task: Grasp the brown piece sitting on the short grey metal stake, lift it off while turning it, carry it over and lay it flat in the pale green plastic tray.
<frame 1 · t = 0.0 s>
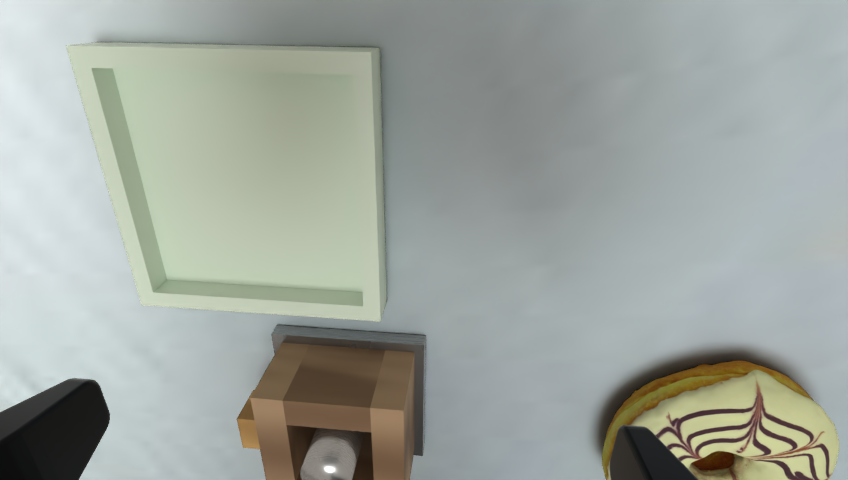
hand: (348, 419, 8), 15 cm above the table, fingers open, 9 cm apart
decorated donut: (697, 423, 27), on the table
tray: (256, 183, 23), on the table
stake: (354, 387, 28), on the table
brown piece: (351, 398, 27), point 1 cm above the table, touching stake
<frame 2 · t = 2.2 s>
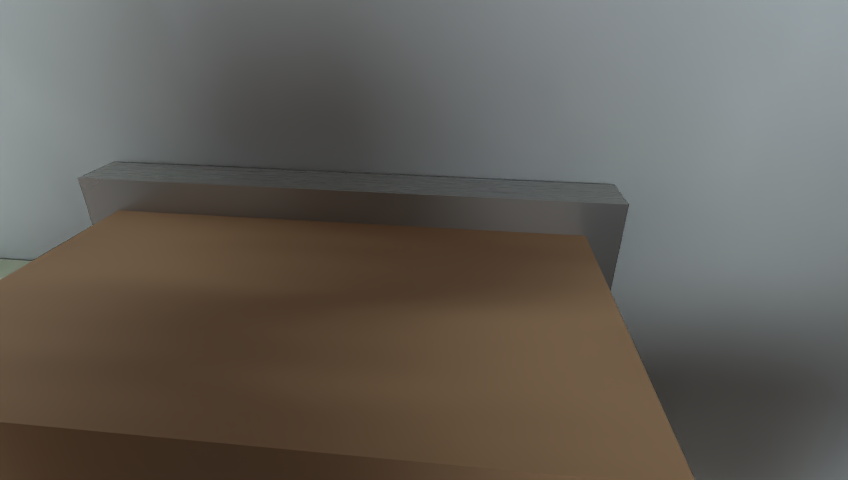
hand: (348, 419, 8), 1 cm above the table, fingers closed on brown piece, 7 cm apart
stake: (363, 370, 9), on the table
brown piece: (354, 401, 9), point 1 cm above the table, touching gripper, stake
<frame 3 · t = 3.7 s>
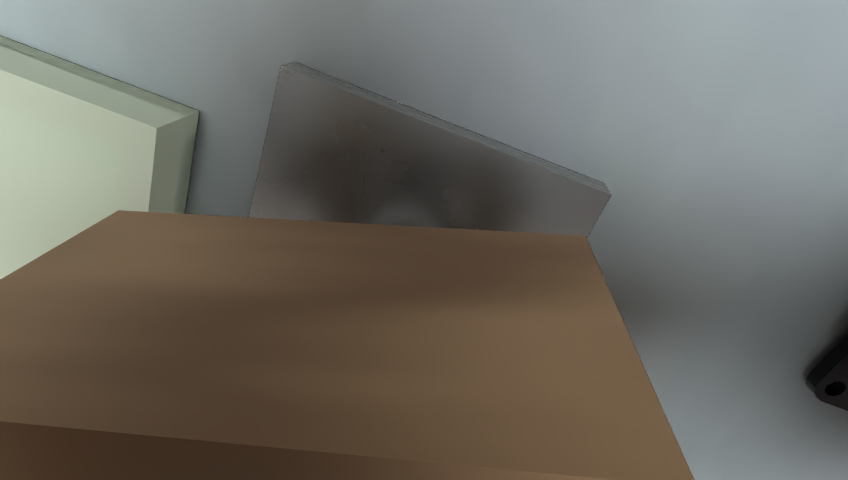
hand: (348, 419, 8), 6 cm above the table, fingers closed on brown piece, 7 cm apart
stake: (399, 259, 14), on the table
brown piece: (354, 400, 9), point 5 cm above the table, touching gripper
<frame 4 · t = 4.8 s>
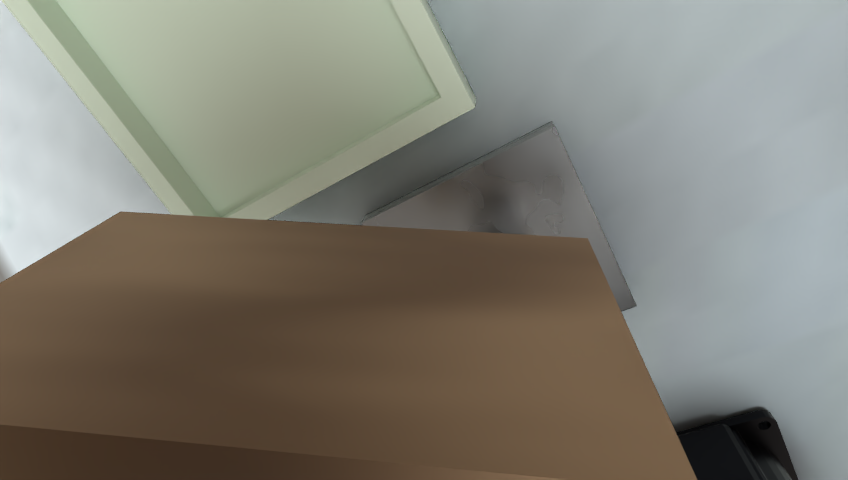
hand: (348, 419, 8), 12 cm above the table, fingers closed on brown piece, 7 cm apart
tray: (245, 27, 17), on the table
stake: (499, 255, 20), on the table
brown piece: (355, 402, 9), point 11 cm above the table, touching gripper
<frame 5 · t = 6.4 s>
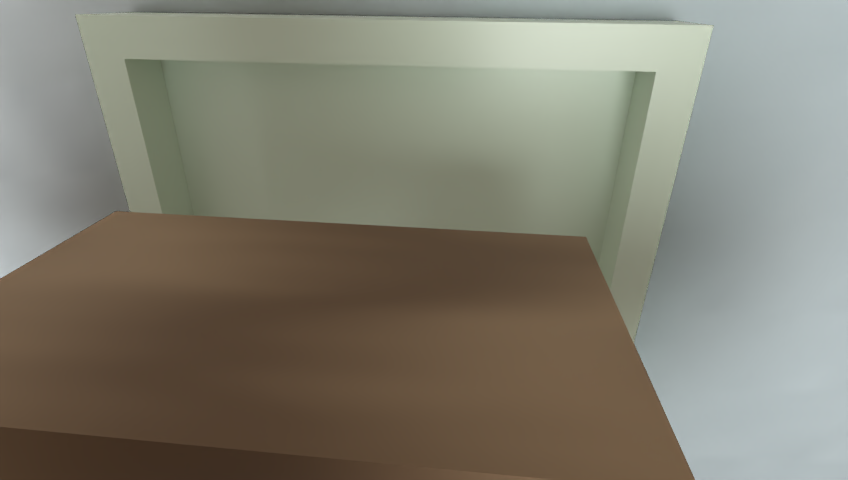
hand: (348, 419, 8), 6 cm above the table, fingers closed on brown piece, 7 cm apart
tray: (395, 257, 13), on the table
brown piece: (353, 402, 9), point 5 cm above the table, touching gripper
when the fingers open (2 cm above the table, at t = 7.6 s): brown piece drops 1 cm, resting on tray.
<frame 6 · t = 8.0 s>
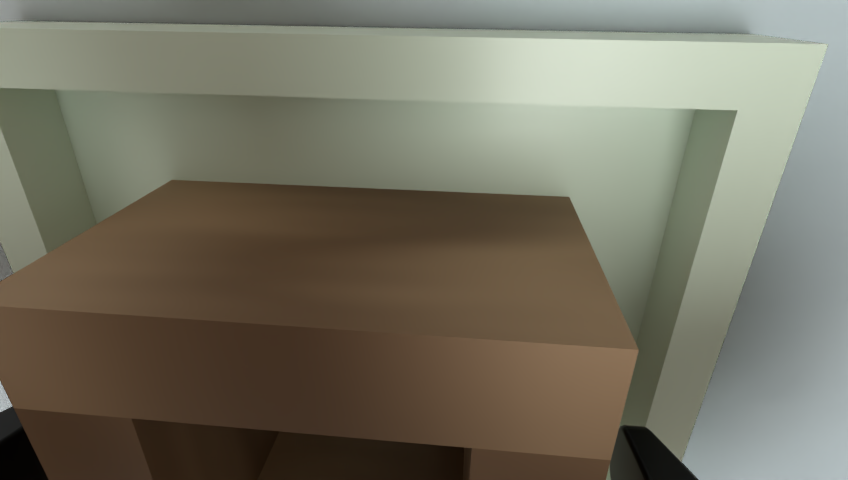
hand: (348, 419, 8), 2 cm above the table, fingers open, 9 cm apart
tray: (374, 329, 11), on the table
brown piece: (371, 348, 10), point 1 cm above the table, touching tray
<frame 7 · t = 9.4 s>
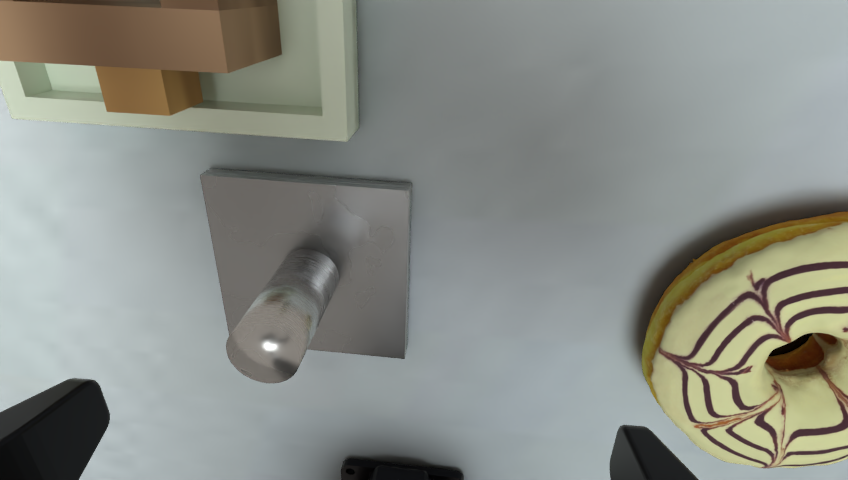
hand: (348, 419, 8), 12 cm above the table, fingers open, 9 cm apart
decorated donut: (767, 314, 20), on the table
stake: (316, 264, 21), on the table
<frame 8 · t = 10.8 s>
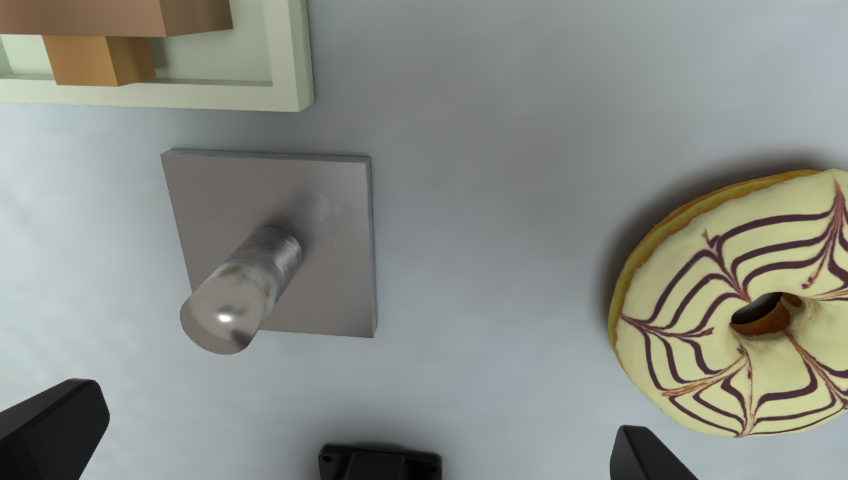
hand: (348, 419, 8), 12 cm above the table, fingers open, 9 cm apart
decorated donut: (735, 282, 20), on the table
stake: (281, 244, 21), on the table
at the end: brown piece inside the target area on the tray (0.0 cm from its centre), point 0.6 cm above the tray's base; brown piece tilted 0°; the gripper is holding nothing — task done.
